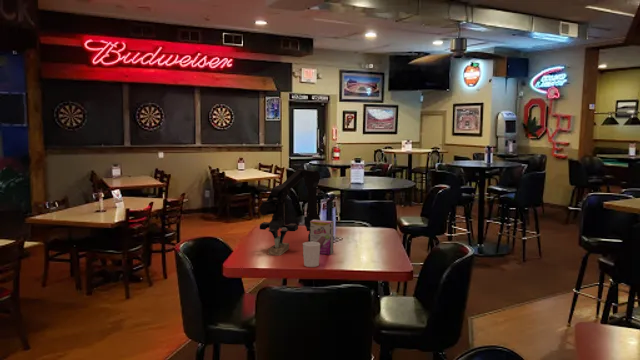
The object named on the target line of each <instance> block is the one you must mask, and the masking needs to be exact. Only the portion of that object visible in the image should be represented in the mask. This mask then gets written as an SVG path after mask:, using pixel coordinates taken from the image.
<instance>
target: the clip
mask: <svg viewBox="0 0 640 360" xmlns="http://www.w3.org/2000/svg"><path fill="white" fill-rule="evenodd" d="M280 238H281V235H278V237H276V238H275V239H274V238H273V239H274V245H275V248H279V245H282V246H283V243H284V241H283V242H282V244H280Z"/></svg>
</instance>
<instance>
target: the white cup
mask: <svg viewBox="0 0 640 360" xmlns="http://www.w3.org/2000/svg"><path fill="white" fill-rule="evenodd" d="M302 252H303V255H302V257H303V265H304V267H307V268H316V267H318V266H319V265H320V255H321V254H320V243H318V242H309V241H305V242H302Z"/></svg>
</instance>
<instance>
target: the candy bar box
mask: <svg viewBox="0 0 640 360" xmlns="http://www.w3.org/2000/svg"><path fill="white" fill-rule="evenodd" d="M334 226H335V223H334V221H333V220H321V219H320V220H312V221H310V231H309V232H310V242H318V243H320V255H326V256H331V255H333V254H334V237H335V236H334V234H335V233H334V232H335V231H334V229H335V228H334Z"/></svg>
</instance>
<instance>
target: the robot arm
mask: <svg viewBox="0 0 640 360" xmlns="http://www.w3.org/2000/svg"><path fill="white" fill-rule="evenodd" d="M320 178H321V174H320V172H319V171H318V170H311V169H305V168H297V169H296V170H295V172H293V173H292V174H291V175H290V176H289V177H288V178H286V179H285V181H284V182H282V183H281V184H278V185H276V186H274V187H273V188H272V189H271V190H270V193H269V195H268V197H267V199H266V201H265V200H263V201H261V204H260V206H259V213H260V215H261V216H270V215H271V220H270V221H269V222H267V221H263V222H261V223H260V224H259V230H267V229H268V232H270V233H271V234H272V236H273V239H275V238H276V237H278V236H279V234H278V233H279V232H280V236H281V238H280V244H282V242H283V243H284V239H285V236H286V234H287V232H296V231H298V230H299V225H298V224H297V223H289V224H286V221H285V217H286V214H285V204H288V201H287V200H286V199H287V196H289V194H290V191H291V189H293V187H294V186H295V185H297V184H298V183H299V182H300V181H301V180H302V179H303V181H304V183H305V185H306V187H307V189H306V190H307V214H306V216H304V219H303V220H304V223H303V224H304V226H305V228H306V229H305V230H306V231H307V232H308V237H307V240H308V241H307V242H310V221H312V220H321V217H320V216H319V213H318V185H319V184H320ZM280 229H281V230H280ZM279 230H280V231H279Z"/></svg>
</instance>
